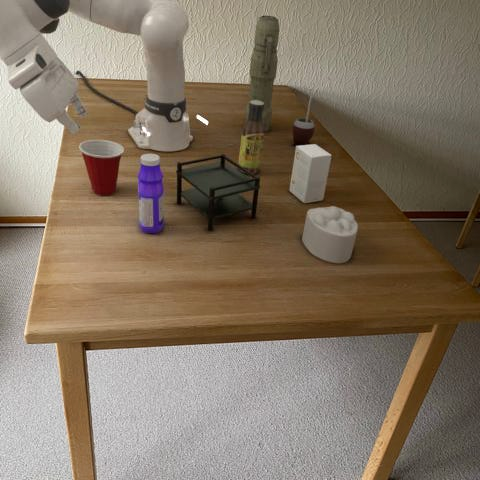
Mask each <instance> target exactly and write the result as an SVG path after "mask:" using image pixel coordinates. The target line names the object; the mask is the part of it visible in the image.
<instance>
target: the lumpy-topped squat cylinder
mask: <svg viewBox="0 0 480 480" xmlns="http://www.w3.org/2000/svg"><path fill="white" fill-rule="evenodd" d="M358 230H359V226H358V222H357V221H356V219H355V216H354V214H353V213H352V212H350V211H346V210H345V209H343V208H341V207H337V206H335V205H331V206H326V207H320V206H319V207H315V208H309V209H308V210H307V212H306V216H305V221H304V228H303V233H302V238H301V240H302V243H303V244H304V246H305V248H306V249H307V250H308V252H309V253H310V254H312V255H313V256H315V257H317V258H319V260H323V261H325V262H329V263H333V264H344V263H347V262H348V261H350V259H351V257H352V253H353V249H354V245H355V243H356V238H357V235H358Z"/></svg>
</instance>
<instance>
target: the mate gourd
mask: <svg viewBox="0 0 480 480" xmlns="http://www.w3.org/2000/svg"><path fill="white" fill-rule="evenodd" d="M312 99H313V93H310V97H309V101H308V104H307V106H308V107H307V113H306V117H299V118H297V119H296V120H295V121H294V122H293V125H292V139H293V142H292V146H294V147H296V146H301V145H311V144H310V140H311V139H312V138H313V136H314V134H315V124H314V121H313V120H311V119H310V118H309V116H310V109H311V106H312Z"/></svg>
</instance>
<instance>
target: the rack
mask: <svg viewBox="0 0 480 480" xmlns="http://www.w3.org/2000/svg"><path fill="white" fill-rule="evenodd" d="M217 159H220V160H219V161H216V162H215V161H214V162H211V163H206V164H200V165H195V166H190V167H186V168H183V167H184V166H187V165H194V164H198V163H203V162H208V161H213V160H217ZM226 161H227V162H226ZM232 165H233V166H232ZM234 166H235V167H236V168H237V169H236V168H235V167H234ZM238 168H239V169H241V170H242V171H244V172H245V173H243V172H241V171H239V169H238ZM175 173H176V205H179V206H180V205H182V199H184V200H185V201H186V202H187V203H188V204H190V205H191V206H192V207H193V208H195V210H197V211H198V212H199V213H200V214H202V215H203V216H204V217H205V218H207V231H208V232H213V230H214V220H219V219H221V218H225V217H229V216H232V215H237V214H240V213H244V212H248V211H251V212H250V219H251V220H255V219H256V217H257V211H258V210H257V209H258V200H259V194H260V193H259V191H260V189H261V185H260V184H261V177H260V176H258V175H256V174H255V173H254V174H252V173H251V172H249V171H248V170H246V169H245V168H243V167H242V166H240V165H239V163H237V161H234V160H233V159H231V158H230V157H228V156H227V155H226V153H221V154H218V155H213V156H208V157H203V158H198V159H193V160H188V161H181V162H180V161H178V162H177V163H176V170H175ZM246 173H247V175H246ZM249 177H251V178H249ZM183 180H184V181H185V182H187V183H188V184H189V185H191V186H192V187H193V188H189V189H184V190H183V189H182V188H183V187H182V185H183ZM251 191H253V193H252V194H253V195H252V202H250V201H249V200H247V199H246V198H245V197H244V196H243V195H241V194H244V193H247V192H248V193H249V192H251Z"/></svg>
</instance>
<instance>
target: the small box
mask: <svg viewBox="0 0 480 480" xmlns="http://www.w3.org/2000/svg"><path fill="white" fill-rule="evenodd" d="M332 155H333V154H331V153H329V152H328V151H326V150H325V149H323V148H321V146H319V145H318V144H316V143H313V144H307V145H296V146H295V152H294V158H293V164H292V171H291V176H290V183H289V190H288V191H289V192H290V193H291V194H292V195H294V196H295V197H296V198H297V199H298V200H299V201H300V202H302V203H303V204H308V203H309V204H310V203H314V202H322V201H323V200H324V197H325V191H326V188H327V182H328V176H329V173H330V172H329V171H330V166H331V160H332Z"/></svg>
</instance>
